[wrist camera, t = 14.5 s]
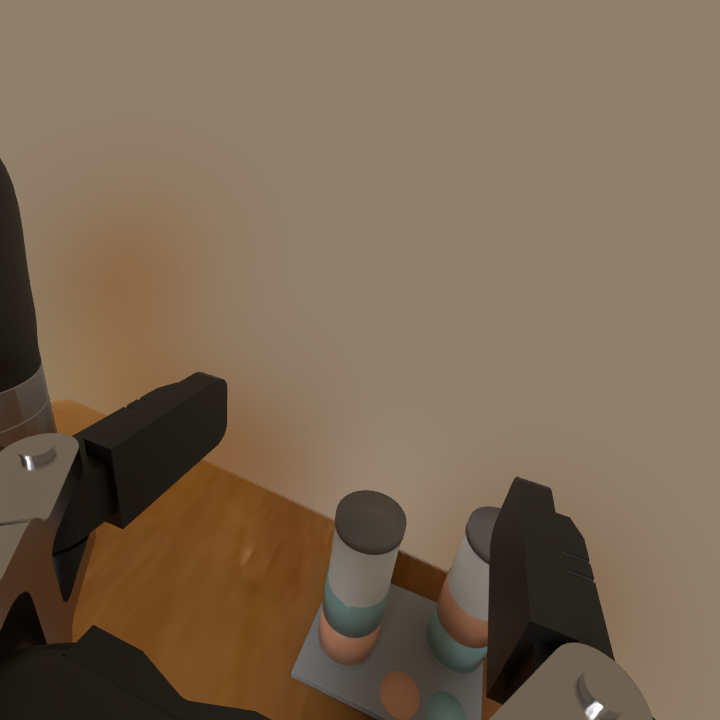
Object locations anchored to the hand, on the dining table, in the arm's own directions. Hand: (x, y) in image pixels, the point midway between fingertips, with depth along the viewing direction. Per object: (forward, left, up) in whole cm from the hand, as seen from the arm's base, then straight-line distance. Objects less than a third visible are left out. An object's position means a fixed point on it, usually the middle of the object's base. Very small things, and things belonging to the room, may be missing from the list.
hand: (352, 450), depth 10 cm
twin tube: (+8, +14, -27) cm, 32 cm away
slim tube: (0, +11, -27) cm, 29 cm away
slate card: (+4, +12, -28) cm, 31 cm away
